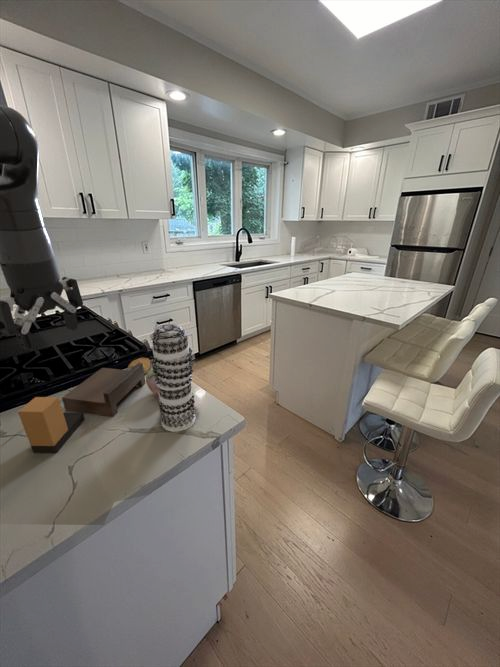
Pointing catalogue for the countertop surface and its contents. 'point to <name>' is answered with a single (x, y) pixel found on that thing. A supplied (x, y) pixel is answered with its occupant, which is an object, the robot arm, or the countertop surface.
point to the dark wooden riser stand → (103, 390)
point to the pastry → (144, 361)
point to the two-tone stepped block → (48, 424)
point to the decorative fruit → (152, 382)
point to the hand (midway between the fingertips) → (52, 338)
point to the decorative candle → (173, 377)
